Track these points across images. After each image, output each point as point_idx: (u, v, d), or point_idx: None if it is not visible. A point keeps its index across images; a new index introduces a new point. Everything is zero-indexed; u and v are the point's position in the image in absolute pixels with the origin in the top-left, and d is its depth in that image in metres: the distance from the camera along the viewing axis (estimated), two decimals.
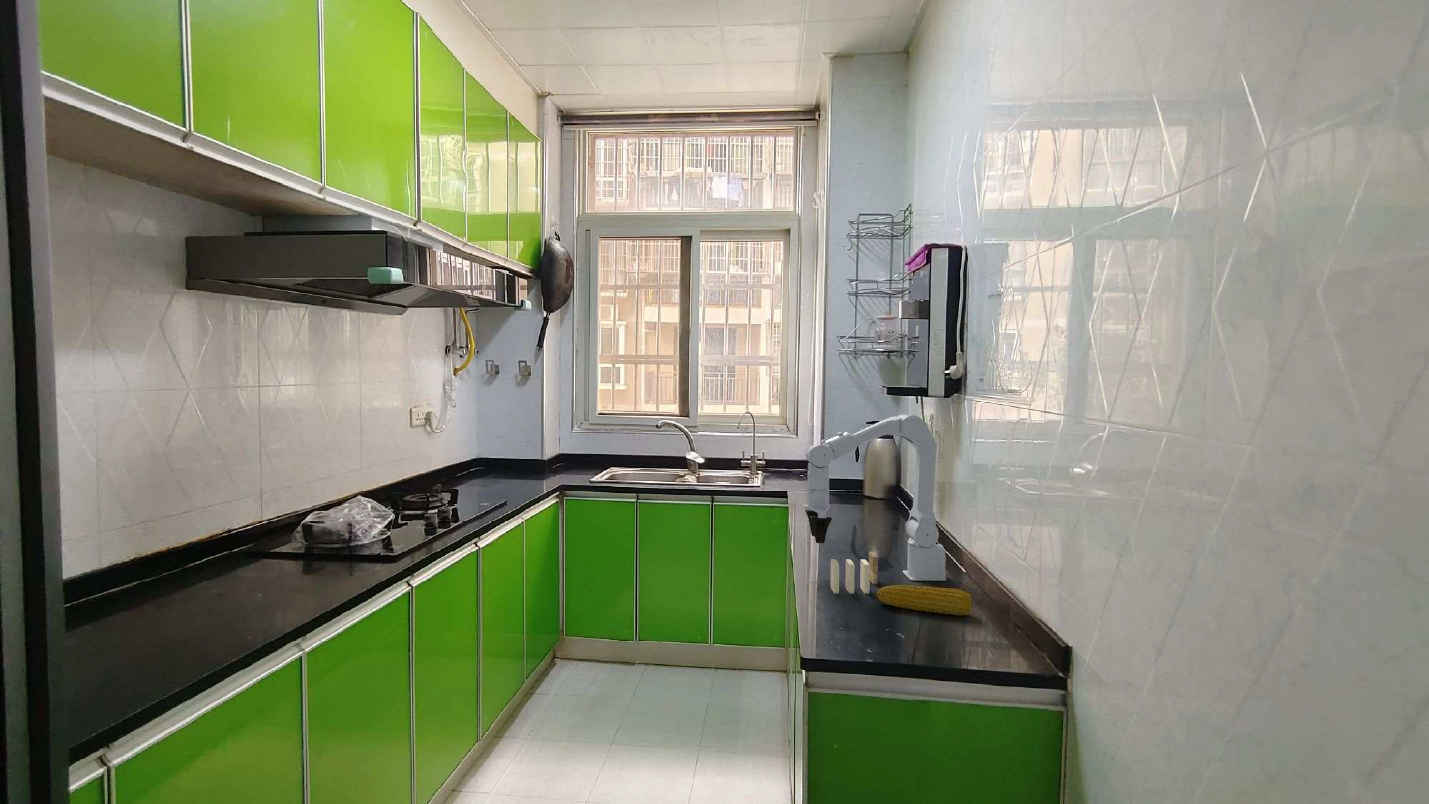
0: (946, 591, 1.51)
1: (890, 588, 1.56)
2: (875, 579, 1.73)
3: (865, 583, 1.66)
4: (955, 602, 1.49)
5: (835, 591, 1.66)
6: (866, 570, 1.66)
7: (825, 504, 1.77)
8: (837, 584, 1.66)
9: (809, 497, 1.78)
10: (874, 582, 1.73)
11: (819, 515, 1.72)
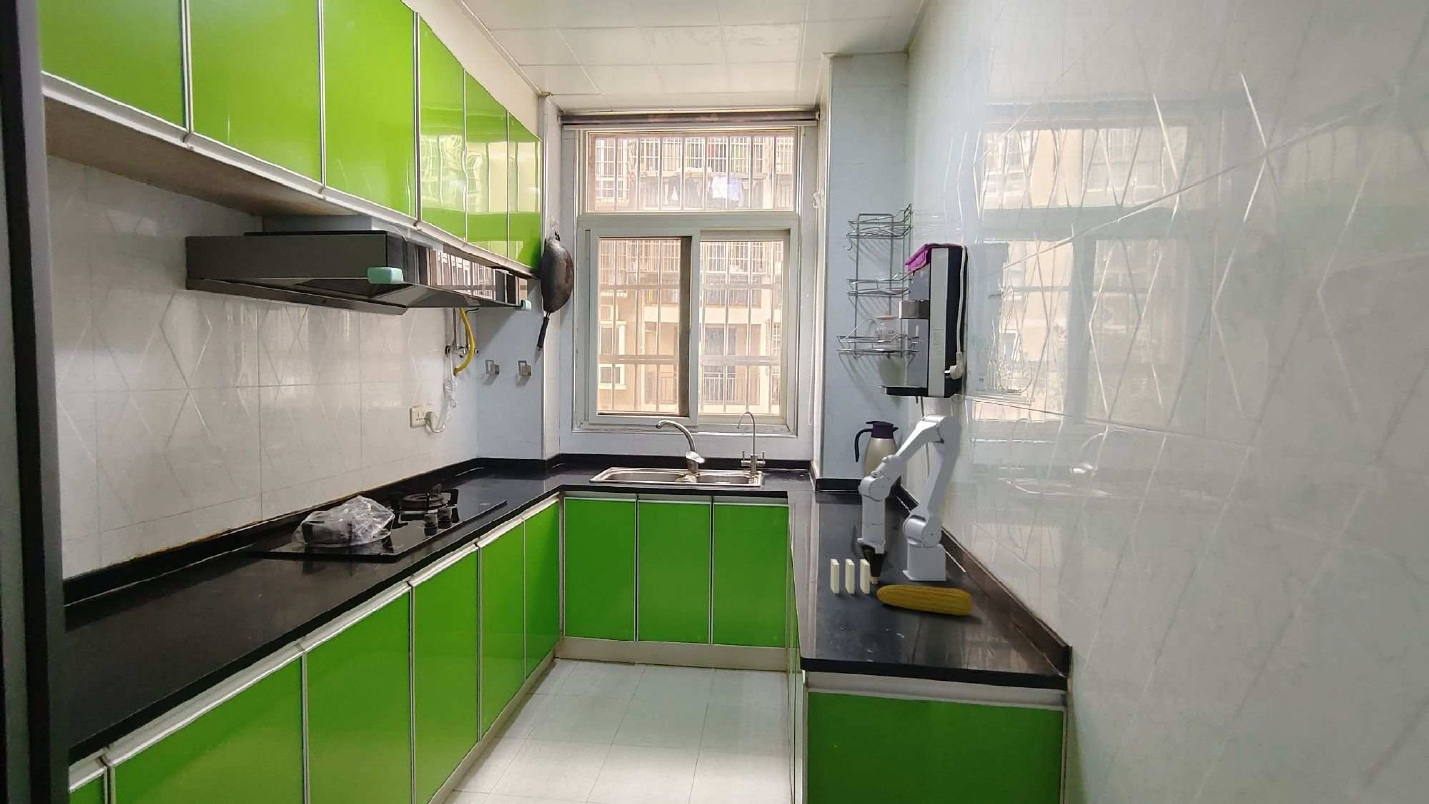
0: (946, 591, 1.51)
1: (890, 588, 1.56)
2: (875, 579, 1.73)
3: (865, 583, 1.66)
4: (955, 602, 1.49)
5: (835, 591, 1.66)
6: (866, 570, 1.66)
7: (881, 538, 1.73)
8: (837, 584, 1.66)
9: (864, 531, 1.74)
10: (874, 582, 1.73)
11: (876, 550, 1.68)
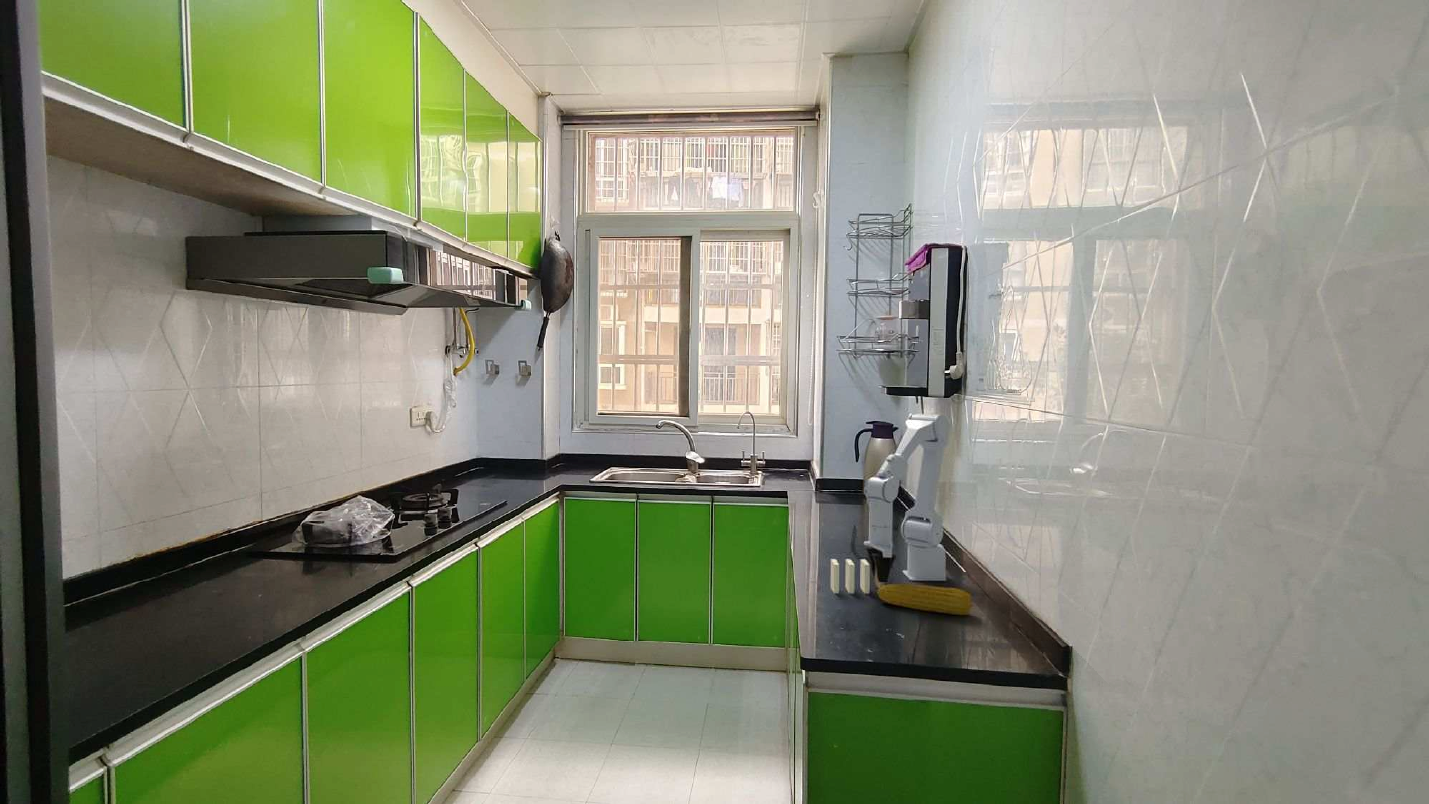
0: (945, 590, 1.51)
1: (890, 586, 1.57)
2: (882, 584, 1.66)
3: (865, 583, 1.66)
4: (954, 602, 1.49)
5: (835, 591, 1.66)
6: (866, 570, 1.66)
7: (889, 541, 1.66)
8: (837, 584, 1.66)
9: (871, 534, 1.67)
10: None
11: (884, 554, 1.61)
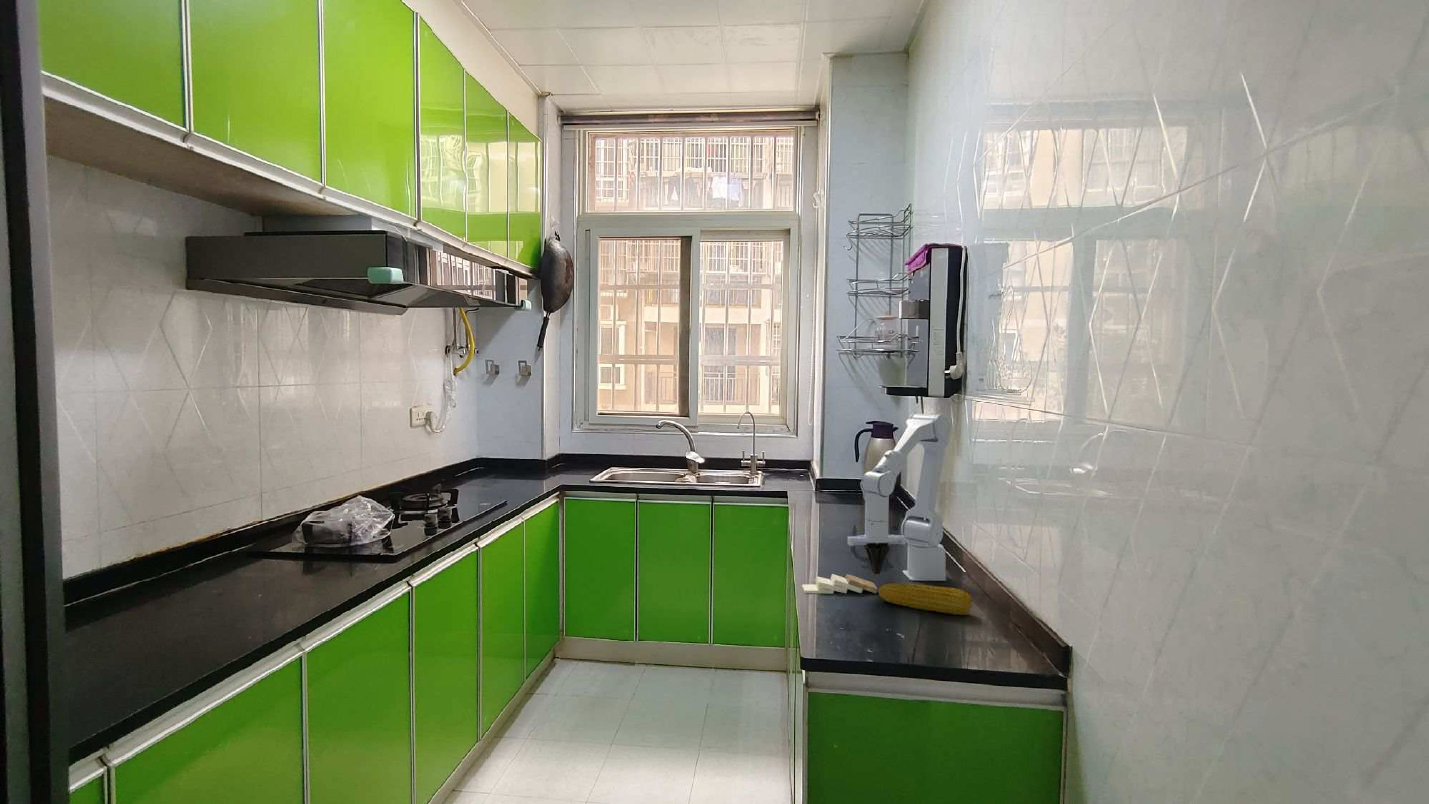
0: (945, 590, 1.52)
1: (891, 586, 1.58)
2: (872, 589, 1.66)
3: (851, 589, 1.66)
4: (953, 602, 1.49)
5: None
6: (839, 584, 1.66)
7: (870, 535, 1.66)
8: (824, 592, 1.66)
9: None
10: (874, 591, 1.66)
11: None
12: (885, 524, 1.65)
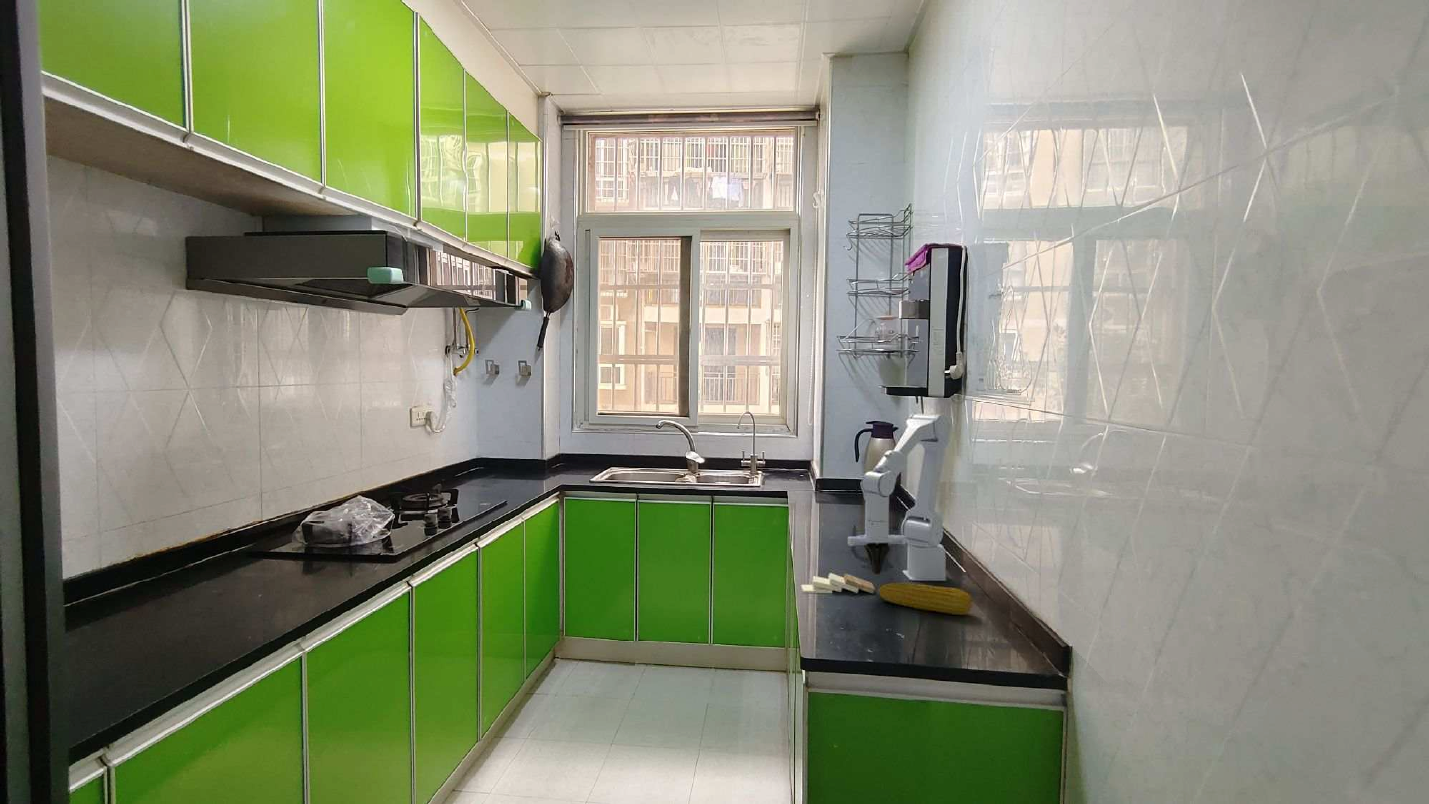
0: (945, 590, 1.52)
1: (891, 585, 1.58)
2: (869, 589, 1.66)
3: (847, 588, 1.66)
4: (953, 601, 1.49)
5: None
6: (835, 583, 1.67)
7: (870, 535, 1.66)
8: (823, 592, 1.66)
9: None
10: (871, 591, 1.66)
11: (848, 541, 1.68)
12: (885, 524, 1.65)
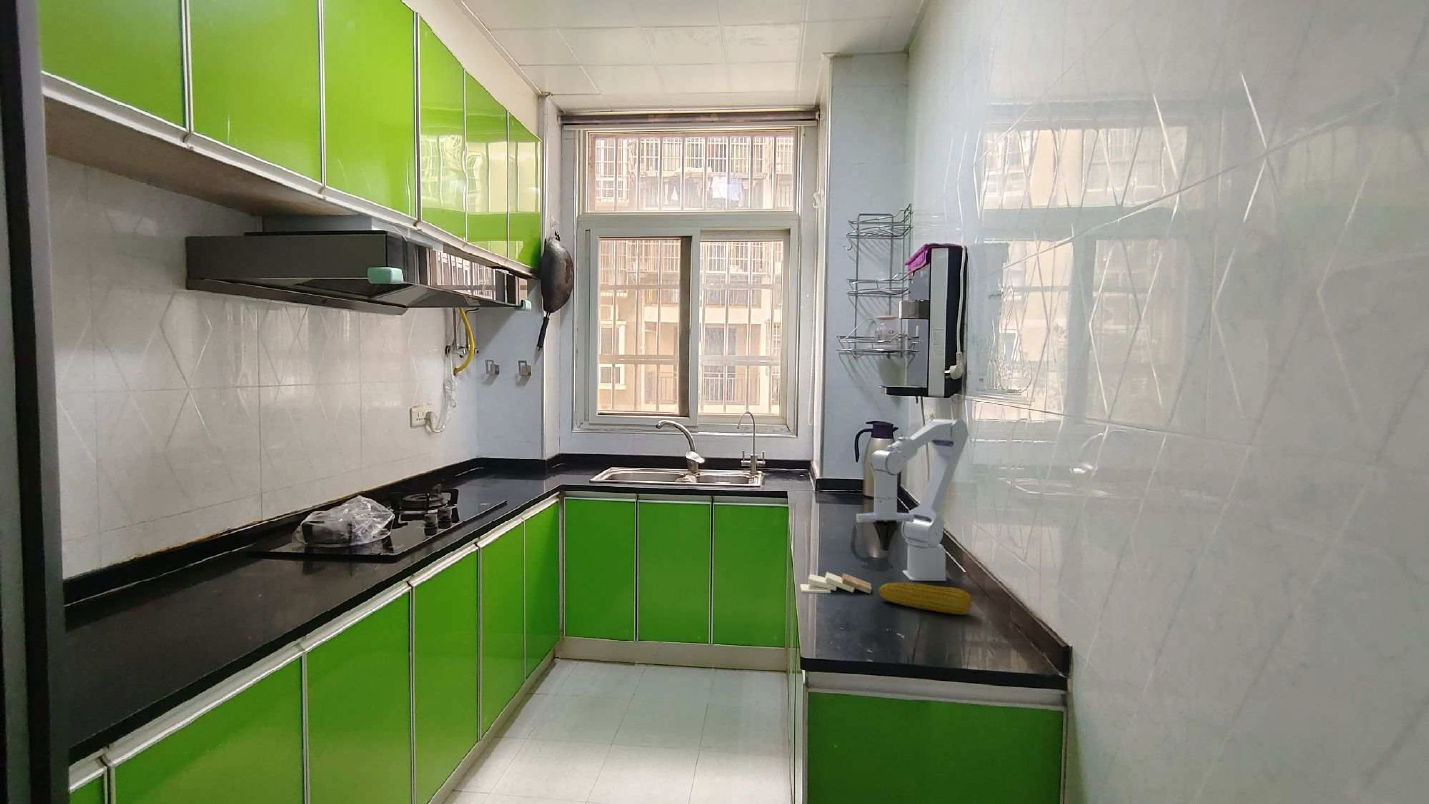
0: (945, 590, 1.52)
1: (891, 585, 1.58)
2: (866, 589, 1.66)
3: (843, 587, 1.67)
4: (953, 601, 1.49)
5: None
6: (831, 582, 1.67)
7: (878, 512, 1.69)
8: (821, 592, 1.66)
9: None
10: (868, 591, 1.66)
11: (856, 518, 1.72)
12: (893, 501, 1.69)
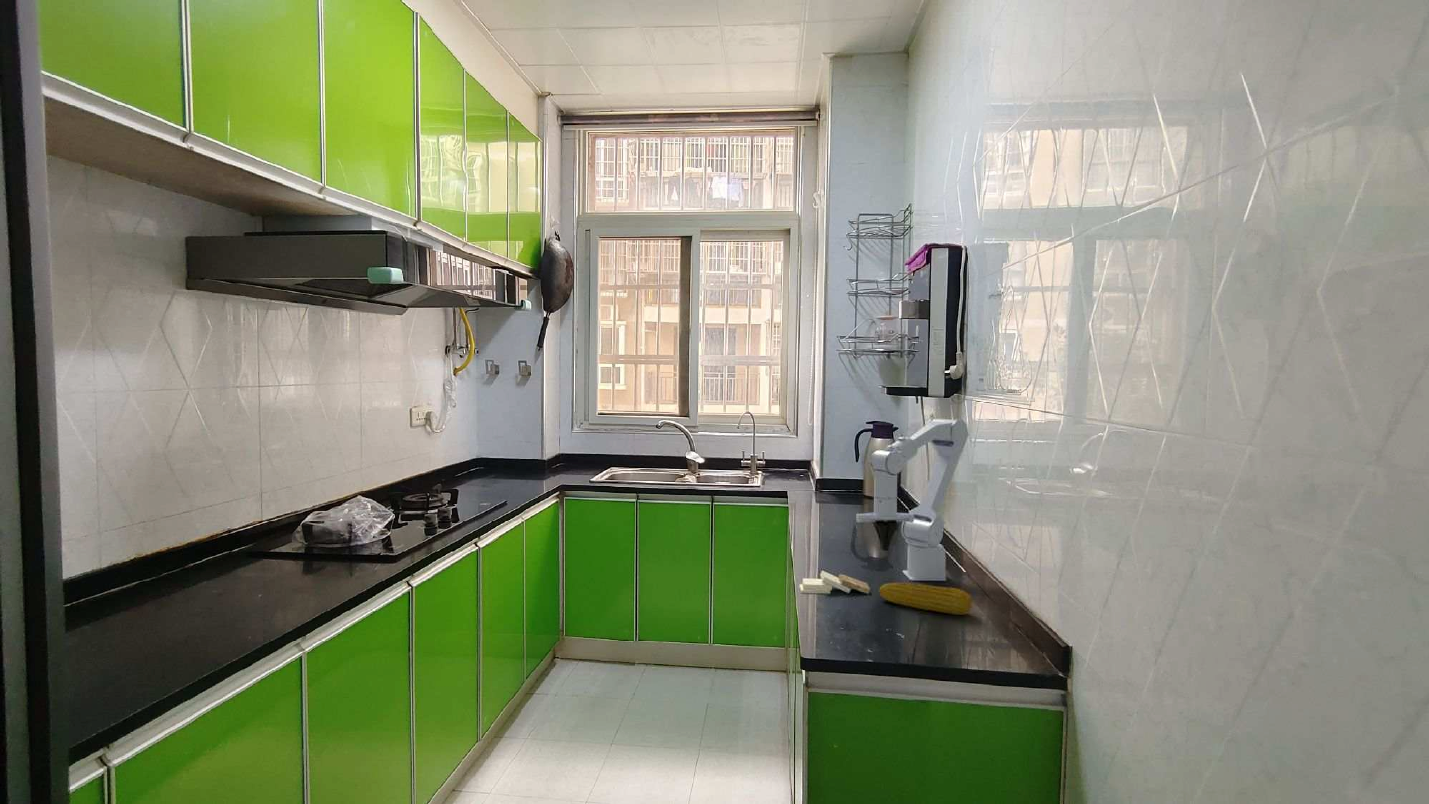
0: (945, 590, 1.52)
1: (891, 585, 1.59)
2: (864, 589, 1.66)
3: (840, 588, 1.66)
4: (953, 601, 1.49)
5: None
6: (828, 582, 1.66)
7: (878, 512, 1.69)
8: (821, 591, 1.66)
9: None
10: (867, 591, 1.65)
11: (856, 518, 1.72)
12: (893, 501, 1.69)
